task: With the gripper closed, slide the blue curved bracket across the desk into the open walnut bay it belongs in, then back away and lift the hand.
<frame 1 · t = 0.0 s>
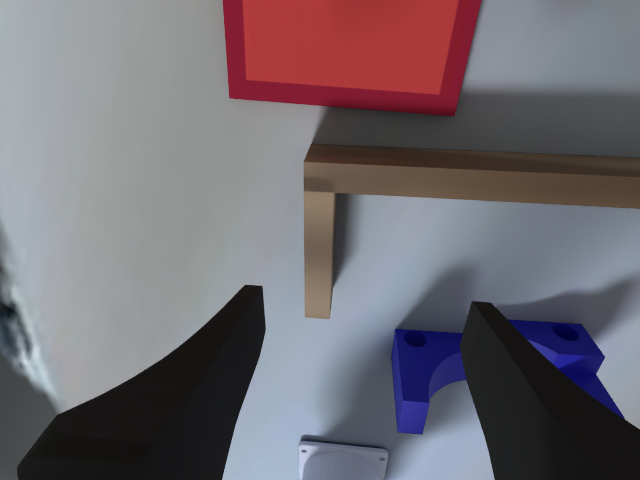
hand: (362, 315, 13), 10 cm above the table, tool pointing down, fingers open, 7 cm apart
blue curved bracket: (479, 338, 27), on the table
clip bay: (509, 251, 23), on the table
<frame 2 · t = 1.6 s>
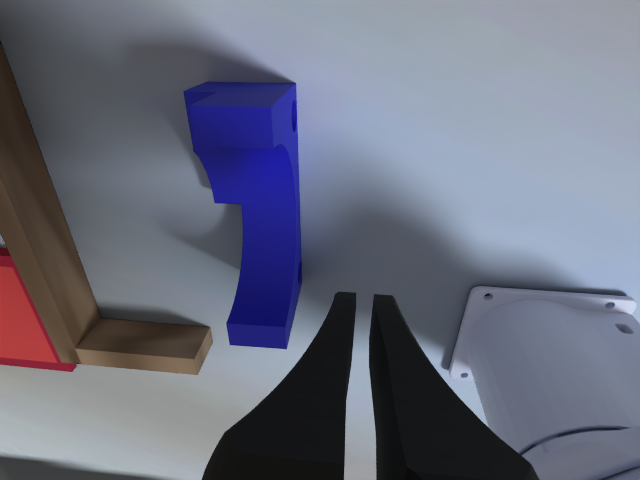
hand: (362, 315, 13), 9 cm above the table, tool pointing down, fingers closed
blue curved bracket: (262, 192, 22), on the table
clip bay: (124, 189, 22), on the table
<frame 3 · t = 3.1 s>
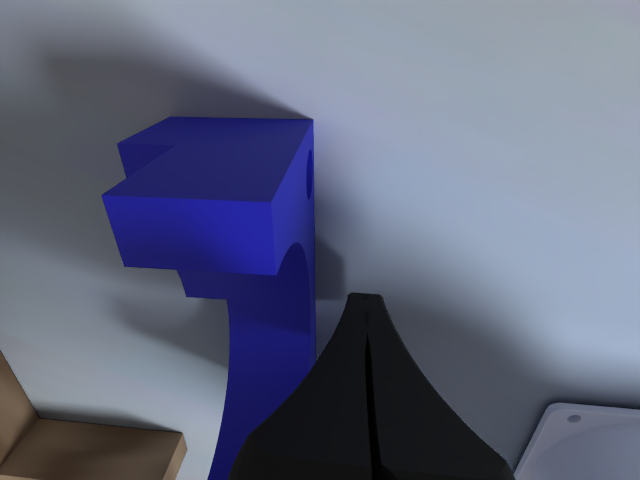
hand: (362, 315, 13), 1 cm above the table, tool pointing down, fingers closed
blue curved bracket: (258, 273, 15), on the table, touching gripper
clip bay: (49, 268, 15), on the table
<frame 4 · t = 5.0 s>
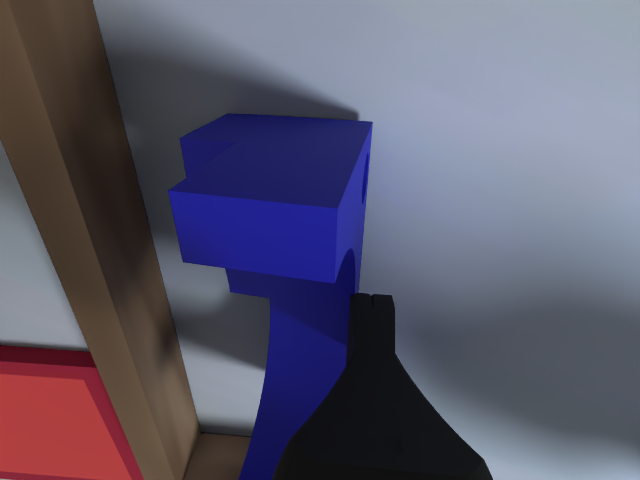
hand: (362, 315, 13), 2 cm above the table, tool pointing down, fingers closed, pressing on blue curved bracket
blue curved bracket: (302, 273, 15), on the table, touching gripper
clip bay: (271, 282, 15), on the table
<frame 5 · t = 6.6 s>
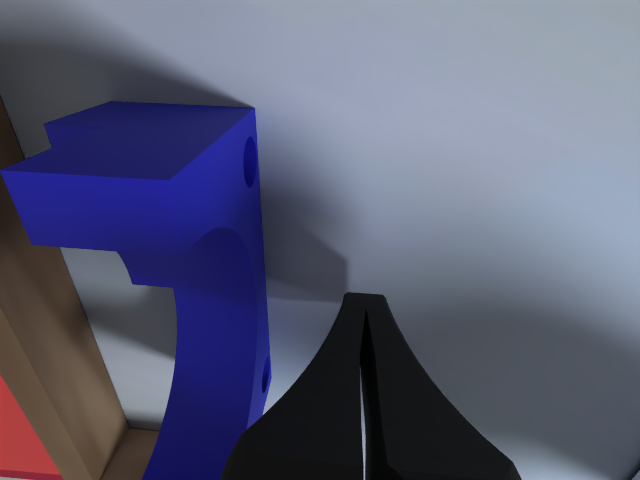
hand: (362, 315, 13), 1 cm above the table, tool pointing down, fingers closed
blue curved bracket: (210, 262, 15), on the table
clip bay: (176, 277, 15), on the table
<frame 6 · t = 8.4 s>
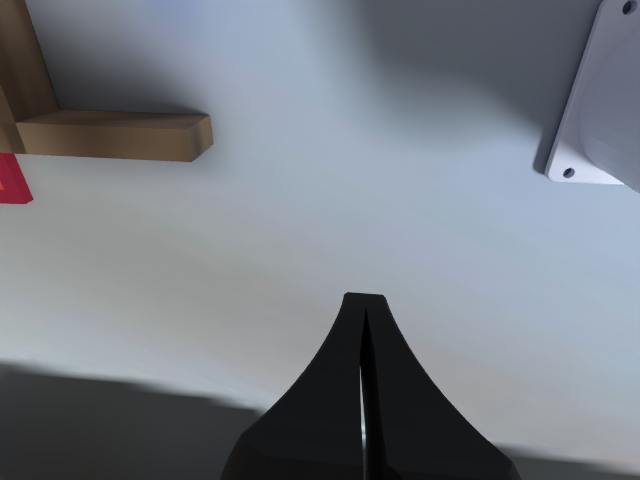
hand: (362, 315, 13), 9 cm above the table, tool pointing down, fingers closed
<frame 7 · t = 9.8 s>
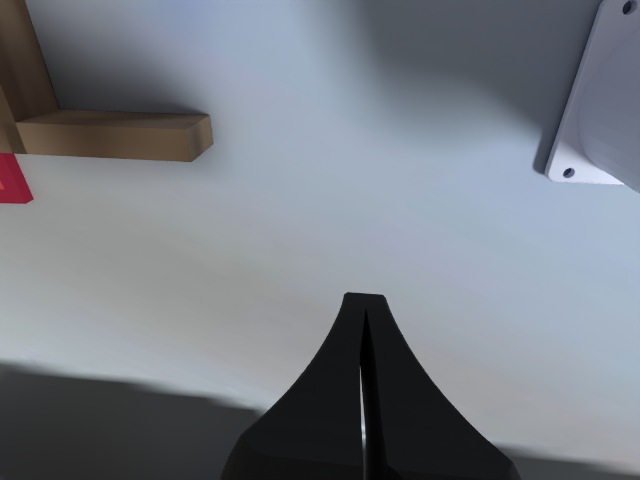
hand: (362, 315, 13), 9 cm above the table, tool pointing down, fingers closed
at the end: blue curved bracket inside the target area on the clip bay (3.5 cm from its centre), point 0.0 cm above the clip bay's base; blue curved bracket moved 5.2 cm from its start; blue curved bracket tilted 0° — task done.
